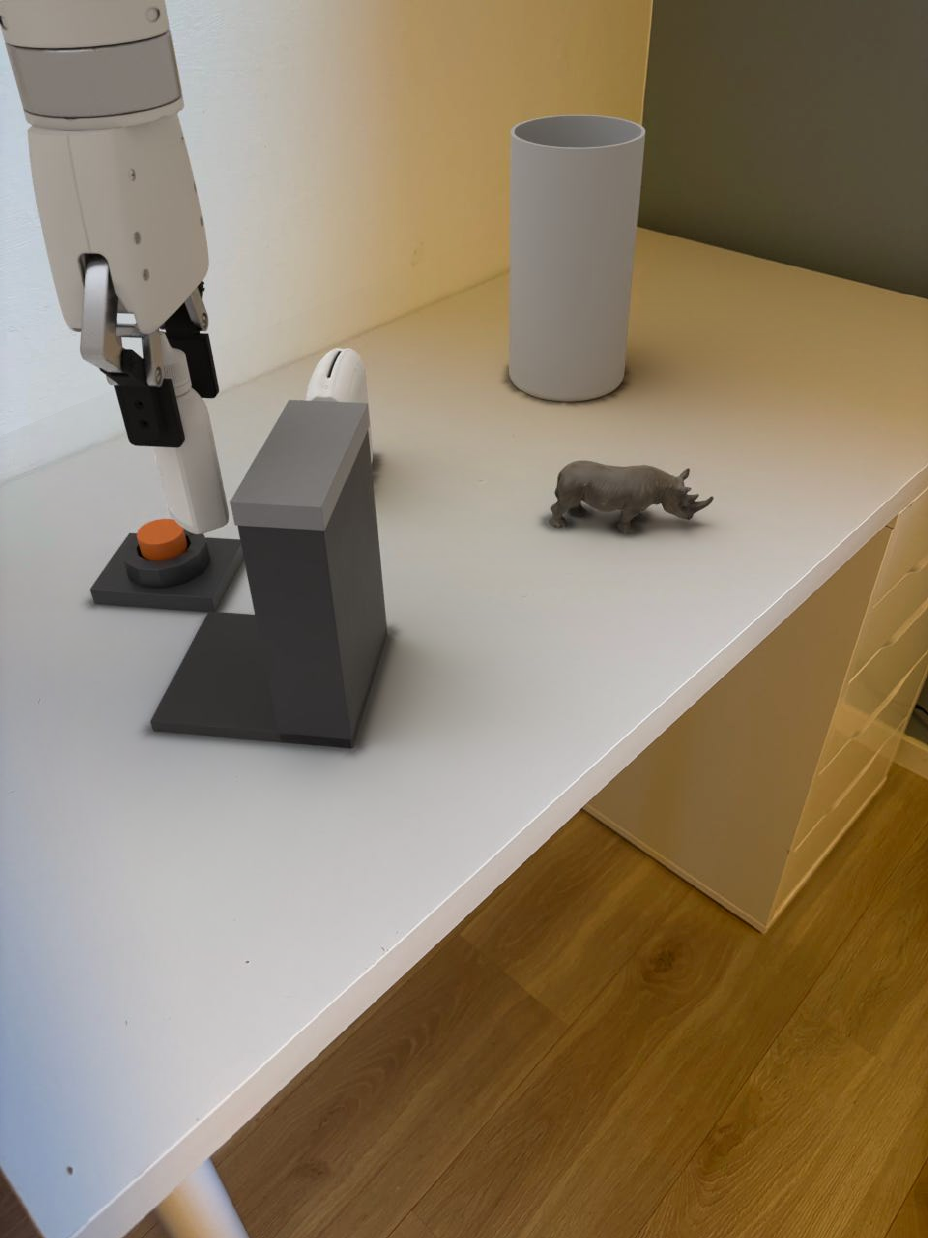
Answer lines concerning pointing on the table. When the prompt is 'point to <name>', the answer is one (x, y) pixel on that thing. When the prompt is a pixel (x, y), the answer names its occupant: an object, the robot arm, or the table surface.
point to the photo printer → (340, 380)
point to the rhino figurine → (621, 492)
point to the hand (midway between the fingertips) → (176, 416)
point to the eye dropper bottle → (191, 456)
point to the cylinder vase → (572, 253)
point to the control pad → (170, 575)
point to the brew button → (161, 540)
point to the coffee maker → (294, 594)
